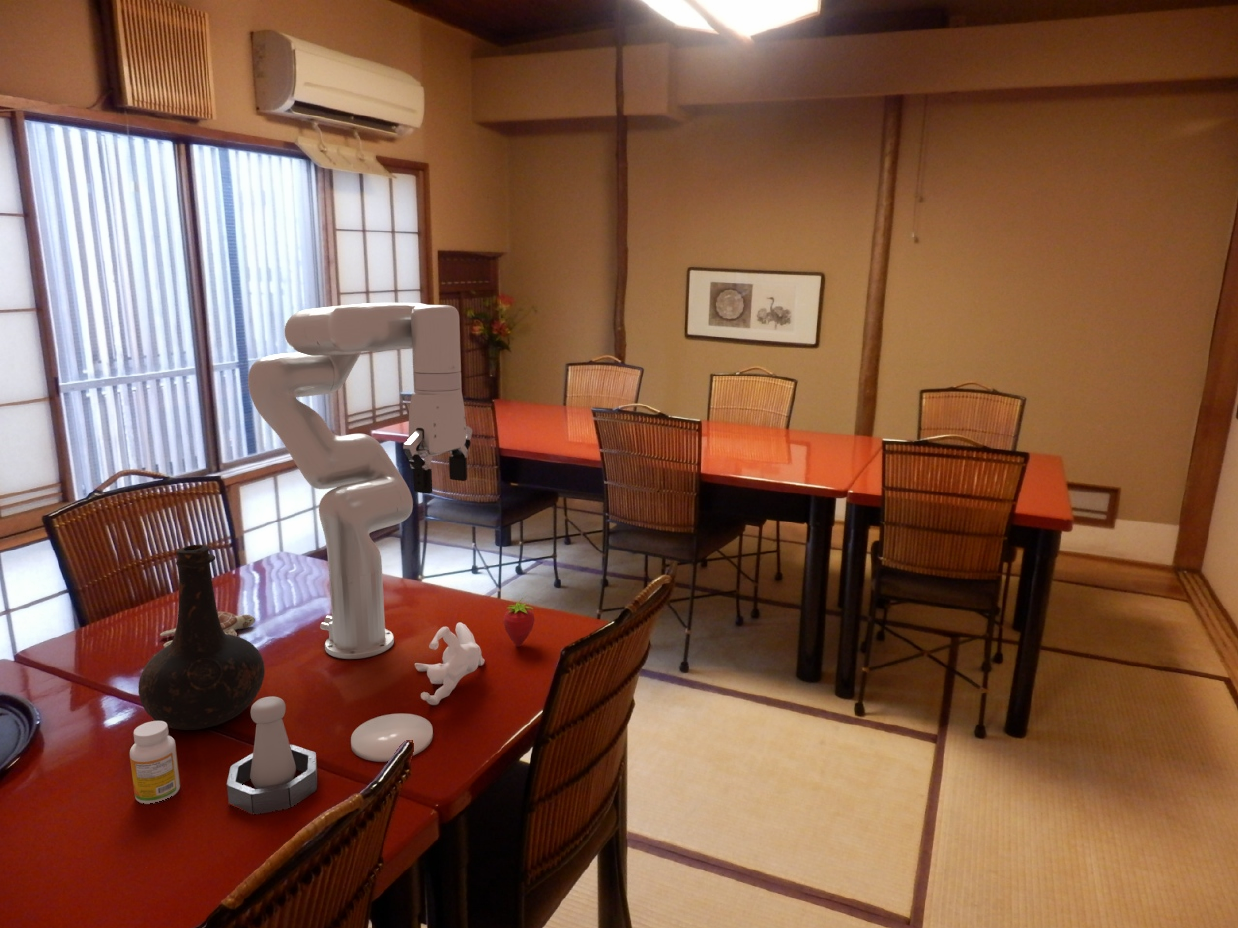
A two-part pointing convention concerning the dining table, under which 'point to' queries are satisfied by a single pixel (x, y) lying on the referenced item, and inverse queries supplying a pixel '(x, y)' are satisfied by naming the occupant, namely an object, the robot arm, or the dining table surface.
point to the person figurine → (451, 661)
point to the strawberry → (518, 622)
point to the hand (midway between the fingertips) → (441, 486)
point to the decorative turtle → (224, 624)
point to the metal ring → (275, 795)
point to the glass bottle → (200, 658)
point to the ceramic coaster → (390, 736)
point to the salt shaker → (271, 745)
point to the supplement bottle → (154, 763)
